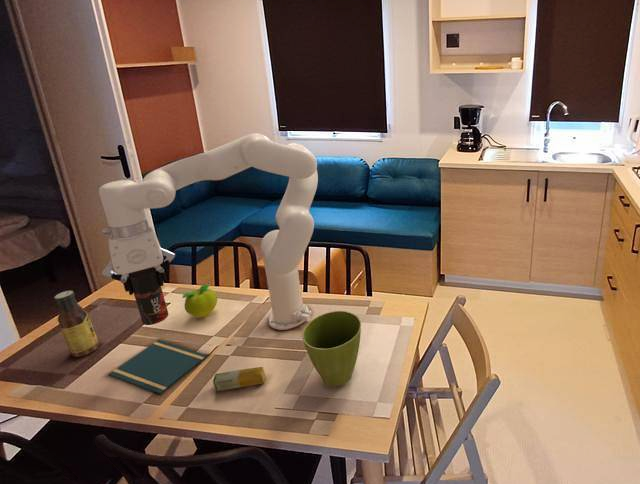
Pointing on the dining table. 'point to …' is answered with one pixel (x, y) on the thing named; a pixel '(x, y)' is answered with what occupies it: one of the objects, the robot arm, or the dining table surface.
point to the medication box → (239, 378)
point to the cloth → (158, 366)
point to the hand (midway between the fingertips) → (146, 287)
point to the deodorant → (148, 296)
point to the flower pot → (333, 345)
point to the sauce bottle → (75, 325)
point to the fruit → (200, 301)
